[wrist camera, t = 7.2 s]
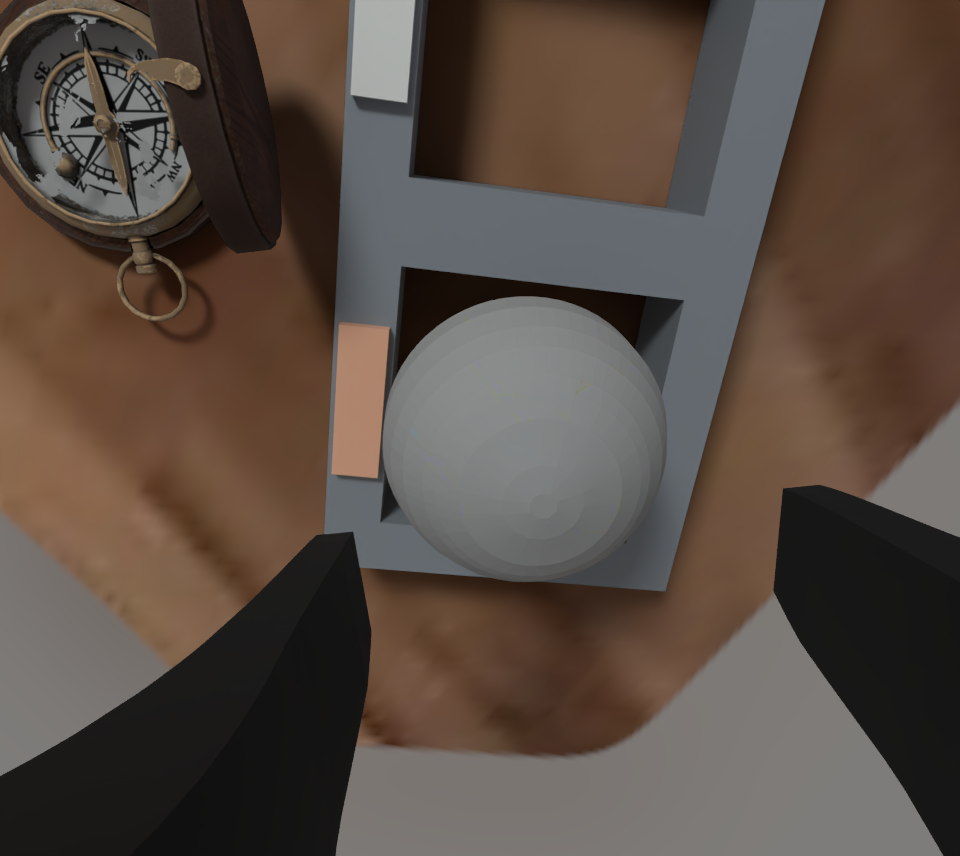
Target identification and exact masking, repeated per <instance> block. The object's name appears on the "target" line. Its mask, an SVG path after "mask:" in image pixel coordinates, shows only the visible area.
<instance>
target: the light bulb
mask: <svg viewBox="0 0 960 856" xmlns="http://www.w3.org/2000/svg"><path fill="white" fill-rule="evenodd" d="M382 445H383V459H384V465H385V471H386V475H387V478H388V482H389V484H390V487H391V490H392V492H393V494H394V496H395V498H396V500H397V502H398V504H399V506H400V507H401V509H402V510H403V512H404V513H405V515H406V516H407V518H408V520H409V521H410V523H411V524H412V526H413V527H414V528H415V529H416V531H417V532H418V533H419V534H420V535H421V537H422V538H423V539H424V540H425V541H426V542H427V543H428V544H429V545H431V546H432V547H433V548H434V549H436V550H437V551H438V552H439V553H441V554H442V555H444V556H445V557H447V558H448V559H450V560H452V561H453V562H455V563H456V564H458V565H460V566H462V567H464V568H466V569H468V570H470V571H472V572H475V573H477V574H480V575H483V576H486V577H490V578H494V579H499V580H505V581H513V582H536V581H545V580H551V579H556V578H560V577H564V576H567V575H571V574H573V573H576V572H579V571H581V570H584V569H586V568H588V567H590V566H592V565H594V564H596V563H597V562H599V561H601V560H602V559H604V558H605V557H607V556H608V555H610V554H611V553H613V552H614V551H615V550H616V549H617V548H619V547H620V546H621V545H622V544H623V543H624V542H625V541H626V540H627V539H628V538H629V537H630V536H631V535H632V534H633V532H634V531H635V530H636V529H637V528H638V526H639V525H640V523H641V522H642V521H643V519H644V518H645V516H646V514H647V512H648V511H649V509H650V507H651V505H652V502H653V500H654V498H655V496H656V494H657V491H658V489H659V486H660V483H661V480H662V477H663V473H664V469H665V464H666V456H667V421H666V412H665V407H664V402H663V399H662V396H661V392H660V389H659V387H658V385H657V382H656V380H655V378H654V376H653V374H652V372H651V371H650V369H649V367H648V366H647V364H646V363H645V362H644V360H643V359H642V357H641V356H640V355H639V354H638V352H637V351H636V350H635V349H634V348H633V347H632V345H631V344H630V343H629V342H628V341H627V340H626V339H625V338H624V337H623V335H622V334H621V333H620V332H619V331H617V330H616V329H615V328H614V327H613V326H612V325H610V324H609V323H608V322H606V321H605V320H603V319H602V318H601V317H599V316H597V315H596V314H594V313H592V312H590V311H588V310H586V309H584V308H581V307H579V306H577V305H574V304H571V303H568V302H564V301H561V300H556V299H551V298H545V297H534V296H518V297H508V298H501V299H496V300H491V301H487V302H484V303H481V304H478V305H475V306H473V307H470V308H468V309H465V310H463V311H461V312H459V313H457V314H456V315H454V316H452V317H450V318H449V319H447V320H446V321H444V322H443V323H441V324H440V325H438V326H437V327H436V328H435V329H433V330H432V331H431V332H430V333H428V334H427V335H426V336H425V337H424V338H423V339H422V340H421V341H420V342H419V343H418V344H417V346H416V347H415V348H414V349H413V351H412V352H411V353H410V354H409V356H408V357H407V359H406V360H405V362H404V363H403V365H402V366H401V368H400V370H399V372H398V374H397V376H396V378H395V380H394V383H393V385H392V388H391V390H390V394H389V398H388V401H387V406H386V412H385V420H384V429H383V444H382Z"/></svg>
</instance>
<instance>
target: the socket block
mask: <svg viewBox="0 0 960 856" xmlns="http://www.w3.org/2000/svg"><path fill="white" fill-rule="evenodd" d="M428 3H429V0H350V8H349V29H348V50H347V71H346V92H345V113H344V134H343V154H342V175H341V196H340V217H339V238H338V259H337V280H336V301H335V322H334V342H333V363H332V384H331V405H330V426H329V447H328V468H327V489H326V510H325V530H324V534H333V533H343V532H353V533H354V539H355V544H356V550H357V555H358V561H359V566H360V568H373V569H386V570H399V571H411V572H424V573H437V574H450V575H462V576H475V577H486V576H483V575H480V574H477V573H475V572H472V571H470V570H468V569H466V568H464V567H462V566H460V565H458V564H456V563H455V562H453V561H452V560H450V559H448V558H447V557H445V556H444V555H442V554H441V553H439V552H438V551H437V550H436V549H434V548H433V547H432V546H431V545H429V544H428V543H427V542H426V541H425V540H424V539H423V538H422V537H421V535H420V534H419V533H418V532H417V531H416V529H415V528H414V527H413V526H412V524H411V523H410V521H409V520H408V518H407V516H406V515H405V513H404V512H403V510H402V509H401V507H400V506H399V504H398V502H397V500H396V498H395V496H394V494H393V492H392V490H391V487H390V484H389V482H388V478H387V475H386V471H385V465H384V459H383V445H382V444H383V429H384V420H385V412H386V406H387V401H388V398H389V394H390V390H391V388H392V385H393V383H394V380H395V378H396V376H397V368H398V356H399V345H400V333H401V321H402V309H403V298H404V286H405V274H406V267H411V268H420V269H428V270H436V271H445V272H453V273H461V274H470V275H478V276H486V277H494V278H503V279H511V280H519V281H528V282H536V283H544V284H553V285H561V286H569V287H578V288H586V289H594V290H602V291H611V292H619V293H627V294H636V295H644V296H646V300H645V305H644V310H643V314H642V319H641V323H640V328H639V333H638V337H637V342H636V346H635V350H636V351H637V352H638V354H639V355H640V356H641V357H642V359H643V360H644V362H645V363H646V364H647V366H648V367H649V369H650V371H651V372H652V374H653V376H654V378H655V380H656V382H657V385H658V387H659V389H660V392H661V396H662V399H663V402H664V407H665V412H666V421H667V456H666V464H665V469H664V473H663V477H662V480H661V483H660V486H659V489H658V491H657V494H656V496H655V498H654V500H653V502H652V505H651V507H650V509H649V511H648V512H647V514H646V516H645V518H644V519H643V521H642V522H641V523H640V525H639V526H638V528H637V529H636V530H635V531H634V532H633V534H632V535H631V536H630V537H629V538H628V539H627V540H626V541H625V542H624V543H623V544H622V545H621V546H620V547H619V548H617V549H616V550H615V551H614V552H613V553H611V554H610V555H608V556H607V557H605V558H604V559H602V560H601V561H599V562H597V563H596V564H594V565H592V566H590V567H588V568H586V569H584V570H581V571H579V572H576V573H573V574H571V575H567V576H564V577H560V578H556V579H551V580H545V581H539V582H552V583H564V584H577V585H590V586H603V587H615V588H628V589H641V590H654V591H666V587H667V583H668V579H669V576H670V572H671V568H672V565H673V561H674V557H675V554H676V550H677V546H678V543H679V539H680V535H681V531H682V528H683V524H684V520H685V517H686V513H687V509H688V506H689V502H690V498H691V495H692V491H693V487H694V483H695V480H696V476H697V472H698V469H699V465H700V461H701V458H702V454H703V450H704V446H705V443H706V439H707V435H708V432H709V428H710V424H711V421H712V417H713V413H714V410H715V406H716V402H717V398H718V395H719V391H720V387H721V384H722V380H723V376H724V373H725V369H726V365H727V361H728V358H729V354H730V350H731V347H732V343H733V339H734V336H735V332H736V328H737V325H738V321H739V317H740V313H741V310H742V306H743V302H744V299H745V295H746V291H747V288H748V284H749V280H750V277H751V273H752V269H753V265H754V262H755V258H756V254H757V251H758V247H759V243H760V240H761V236H762V232H763V228H764V225H765V221H766V217H767V214H768V210H769V206H770V203H771V199H772V195H773V192H774V188H775V184H776V180H777V177H778V173H779V169H780V166H781V162H782V158H783V155H784V151H785V147H786V143H787V140H788V136H789V132H790V129H791V125H792V121H793V118H794V114H795V110H796V107H797V103H798V99H799V95H800V92H801V88H802V84H803V81H804V77H805V73H806V70H807V66H808V62H809V59H810V55H811V51H812V47H813V44H814V40H815V36H816V33H817V29H818V25H819V22H820V18H821V14H822V10H823V7H824V3H825V0H711V1H710V5H709V10H708V15H707V19H706V24H705V28H704V33H703V38H702V42H701V47H700V51H699V56H698V61H697V65H696V70H695V74H694V79H693V84H692V88H691V93H690V97H689V102H688V107H687V111H686V116H685V121H684V125H683V130H682V134H681V139H680V144H679V148H678V153H677V157H676V162H675V167H674V171H673V176H672V180H671V185H670V190H669V194H668V199H667V204H666V208H662V207H655V206H647V205H640V204H632V203H625V202H617V201H610V200H602V199H595V198H587V197H580V196H572V195H565V194H557V193H550V192H542V191H535V190H527V189H520V188H512V187H505V186H497V185H490V184H482V183H475V182H467V181H460V180H452V179H445V178H437V177H430V176H422V175H415V174H414V168H415V156H416V144H417V132H418V121H419V109H420V97H421V85H422V73H423V62H424V50H425V38H426V26H427V15H428ZM488 578H490V577H488Z"/></svg>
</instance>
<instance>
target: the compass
mask: <svg viewBox="0 0 960 856" xmlns="http://www.w3.org/2000/svg"><path fill="white" fill-rule="evenodd" d="M0 174H1V176H2V177H3V178H4V179H5V180H6V182H7V183H8V184H9V185H10V187H11V188H12V189H13V190H14V192H15V193H16V194H17V195H18V196H19V198H20V199H21V200H22V201H23V203H24V204H25V205H26V206H27V207H28V208H29V209H31V210H32V211H33V212H35V213H36V214H37V215H38V216H40V217H41V218H42V219H43V220H45V221H46V222H47V223H49V224H50V225H51V226H52V227H54V228H55V229H56V230H58V231H60V232H62V233H64V234H67V235H69V236H71V237H73V238H75V239H77V240H80V241H82V242H84V243H86V244H88V245H91V246H95V247H101V248H107V249H112V250H118V251H124V252H130V251H133V255H132V256H130V257H129V258H128V259H127V260H126V261H125V262H124V263H123V264H122V265H121V266H120V269H119V272H118V275H117V287H118V293H119V295H120V297H121V299H122V301H123V302H124V304H125V305H126V306H127V307H128V308H129V309H130V310H131V311H132V312H133V313H134V314H135V315H137V316H139V317H142V318H144V319H146V320H148V321H159V322H163V321H166V320H169V319H172V318H175V317H176V316H177V315H178V314H179V313H180V312H181V311H182V310H183V309H184V307H185V304H186V302H187V299H188V289H187V282H186V280H185V278H184V276H183V274H182V272H181V270H180V269H179V268H178V267H177V266H176V265H175V264H174V263H173V262H172V261H171V260H169V259H167V258H165V257H163V256H161V255H159V254H156V253H153V251H152V250H151V249H150V248H154V249H157V248H162V247H165V246H168V245H170V244H172V243H175V242H177V241H179V240H181V239H183V238H186V237H188V236H190V235H192V234H195V233H196V232H197V231H198V230H199V229H201V228H202V227H203V226H204V225H205V224H206V223H207V222H208V221H209V220H210V219H211V221H212V223H213V225H214V226H215V228H216V230H217V231H218V233H219V234H220V236H221V238H222V239H223V241H224V242H225V244H226V246H227V247H229V248H230V249H232V250H233V251H234V252H236V253H245V252H253V251H261V250H270V249H272V248H273V247H274V246H275V245H276V240H278V238H279V237H280V232H281V225H282V214H281V192H280V176H279V166H278V156H277V149H276V142H275V136H274V129H273V124H272V118H271V113H270V107H269V102H268V97H267V92H266V88H265V83H264V78H263V74H262V70H261V65H260V61H259V57H258V53H257V49H256V45H255V41H254V38H253V34H252V30H251V27H250V23H249V20H248V16H247V13H246V10H245V7H244V4H243V1H242V0H13V1H12V2H11V3H10V4H9V5H8V7H7V8H6V9H5V10H4V11H3V12H2V13H1V14H0ZM155 259H157V260H159V261H161V262H163V263H165V264H167V265H168V266H169V267H170V268H171V269H172V270H173V271H174V272H175V273H176V274H177V276H178V278H179V281H180V283H181V286H182V298H181V301H180V303H179V306H178V307H177V308H176V309H175V310H174V311H173V312H172V313H170V314H167V315H164V316H151V315H148V314H146V313H143V312H141V311H139V310H138V309H137V308H136V307H135V306H133V305H132V304H131V303H130V302H129V300H128V298H127V296H126V294H125V292H124V287H123V277H124V274H125V271H126V269H127V268H128V267H129V266H130V265H131V264H132V263H133V262H135V264H136V265H137V266H136V270H137V273H138V274H139V275H146V274H152V273H156V272H157V271H158V267H157V264H156V263H154V262H155Z"/></svg>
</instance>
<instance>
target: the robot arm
mask: <svg viewBox="0 0 960 856" xmlns="http://www.w3.org/2000/svg"><path fill="white" fill-rule="evenodd" d="M774 593H775V595H776V597H777V599H778V601H779V603H780V605H781V607H782V609H783V611H784V612H785V615H786V617H787V619H788V621H789V622H790V624H791V626H792V628H793V630H794V631H795V633H796V635H797V637H798V639H799V641H800V642H801V644H802V645H803V646H804V648H805V649H806V651H807V653H808V654H809V655H810V657H811V658H812V659H813V661H814V662H815V664H816V665H817V667H818V668H819V669H820V671H821V672H822V674H823V675H824V677H825V678H826V679H827V681H828V682H829V684H830V685H831V686H832V688H833V689H834V690H835V692H836V693H837V695H838V696H839V697H840V699H841V700H842V701H843V703H844V704H845V706H846V707H847V708H848V710H849V711H850V712H851V714H852V715H853V716H854V718H855V719H856V721H857V722H858V723H859V725H860V726H861V728H862V729H863V730H864V732H865V733H866V734H867V736H868V737H869V739H870V740H871V741H872V743H873V744H874V745H875V747H876V748H877V749H878V751H879V752H880V754H881V755H882V756H883V758H884V759H885V761H886V762H887V764H888V765H889V767H890V768H891V769H892V771H893V773H894V774H895V776H896V777H897V778H898V780H899V782H900V783H901V785H902V786H903V788H904V789H905V791H906V793H907V794H908V796H909V798H910V799H911V801H912V803H913V804H914V806H915V808H916V810H917V811H918V813H919V815H920V816H921V818H922V820H923V822H924V823H925V825H926V827H927V828H928V830H929V832H930V833H931V835H932V837H933V839H934V840H935V842H936V844H937V845H938V847H939V849H940V851H941V852H942V854H943V856H960V537H957V536H954V535H952V534H949V533H946V532H944V531H941V530H939V529H936V528H934V527H931V526H929V525H926V524H923V523H921V522H919V521H916V520H914V519H911V518H909V517H906V516H904V515H901V514H898V513H896V512H893V511H891V510H888V509H886V508H884V507H881V506H878V505H876V504H873V503H871V502H868V501H866V500H863V499H861V498H858V497H855V496H853V495H850V494H847V493H844V492H841V491H838V490H835V489H832V488H829V487H825V486H822V485H814V486H804V487H794V488H784V489H783V495H782V506H781V517H780V527H779V538H778V549H777V559H776V570H775V581H774ZM370 647H371V627H370V621H369V616H368V610H367V605H366V599H365V594H364V588H363V583H362V577H361V572H360V566H359V561H358V555H357V550H356V544H355V539H354V533H353V532H343V533H333V534H323V535H316V536H315V537H314V538H313V539H312V540H311V541H310V542H309V543H308V544H307V545H306V546H305V547H304V548H303V549H302V550H301V551H300V552H299V553H298V554H297V555H296V556H295V557H294V558H293V559H292V560H291V561H290V562H289V563H288V564H287V565H286V566H285V567H284V568H283V569H282V570H281V572H280V573H279V574H278V575H277V576H276V577H275V578H274V579H273V580H272V581H271V582H269V583H268V584H267V585H266V586H265V587H264V588H263V589H262V590H261V591H260V592H259V593H258V594H257V595H256V596H255V597H254V598H253V599H252V600H251V601H250V602H249V603H248V604H247V605H246V606H245V607H244V608H243V609H242V610H240V611H239V612H238V613H237V614H236V615H235V616H234V617H233V618H232V619H230V620H229V621H228V622H227V623H226V624H225V625H224V626H223V627H222V628H220V629H219V630H218V631H217V632H216V633H215V634H214V635H213V636H211V637H210V638H209V639H208V640H207V641H206V642H205V643H203V644H202V645H201V646H200V647H199V648H197V649H196V650H195V651H194V652H193V653H191V654H190V655H189V656H188V657H186V658H185V659H184V660H182V661H181V662H180V663H179V664H177V665H176V666H175V667H173V668H172V669H171V670H169V671H168V672H167V673H165V674H164V675H163V676H161V677H160V678H159V679H157V680H156V681H154V682H153V683H152V684H150V685H149V686H148V687H146V688H145V689H143V690H142V691H141V692H139V693H138V694H136V695H135V696H133V697H132V698H130V699H128V700H127V701H126V702H124V703H122V704H121V705H119V706H118V707H116V708H115V709H113V710H112V711H110V712H108V713H107V714H105V715H104V716H102V717H101V718H99V719H98V720H96V721H94V722H93V723H91V724H90V725H88V726H87V727H85V728H84V729H82V730H81V731H79V732H77V733H76V734H74V735H73V736H71V737H69V738H68V739H66V740H64V741H63V742H61V743H59V744H57V745H56V746H54V747H52V748H50V749H49V750H47V751H45V752H44V753H42V754H40V755H38V756H36V757H35V758H33V759H31V760H29V761H27V762H26V763H24V764H22V765H20V766H19V767H17V768H15V769H13V770H11V771H9V772H7V773H5V774H3V775H2V776H0V856H335V854H336V846H337V840H338V834H339V828H340V821H341V816H342V811H343V806H344V801H345V796H346V791H347V786H348V782H349V777H350V771H351V767H352V762H353V757H354V752H355V747H356V742H357V738H358V733H359V728H360V723H361V718H362V713H363V708H364V703H365V697H366V692H367V687H368V675H369V663H370Z"/></svg>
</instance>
